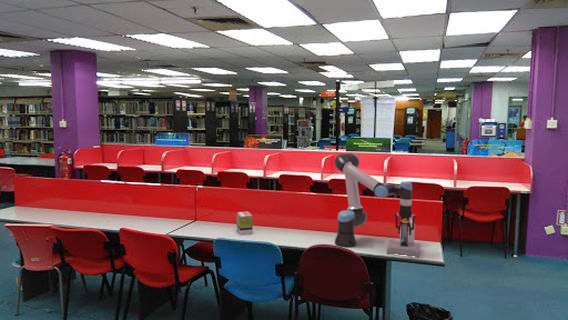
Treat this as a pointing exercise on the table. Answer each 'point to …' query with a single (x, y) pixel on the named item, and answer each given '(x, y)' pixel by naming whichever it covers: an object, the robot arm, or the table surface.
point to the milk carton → (411, 237)
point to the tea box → (244, 223)
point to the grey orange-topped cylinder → (404, 232)
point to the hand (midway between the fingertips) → (404, 238)
